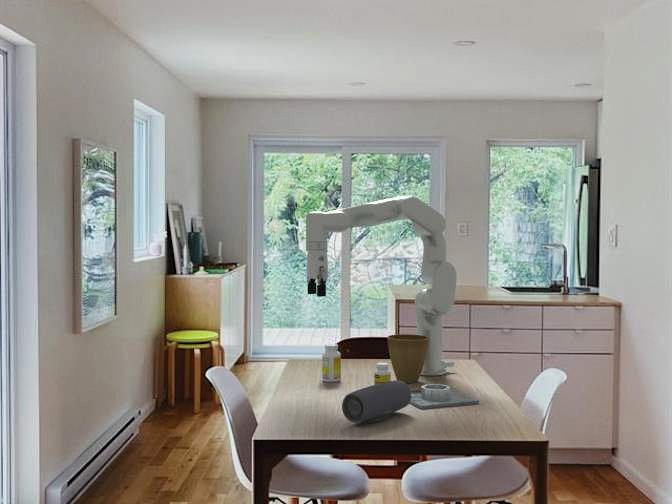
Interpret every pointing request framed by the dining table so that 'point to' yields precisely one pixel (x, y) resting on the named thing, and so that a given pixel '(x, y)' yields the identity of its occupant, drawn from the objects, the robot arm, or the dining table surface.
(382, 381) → the supplement bottle
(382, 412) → the bluetooth speaker
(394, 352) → the plant pot
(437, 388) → the duct collar
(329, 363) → the supplement bottle
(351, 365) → the dining table surface
